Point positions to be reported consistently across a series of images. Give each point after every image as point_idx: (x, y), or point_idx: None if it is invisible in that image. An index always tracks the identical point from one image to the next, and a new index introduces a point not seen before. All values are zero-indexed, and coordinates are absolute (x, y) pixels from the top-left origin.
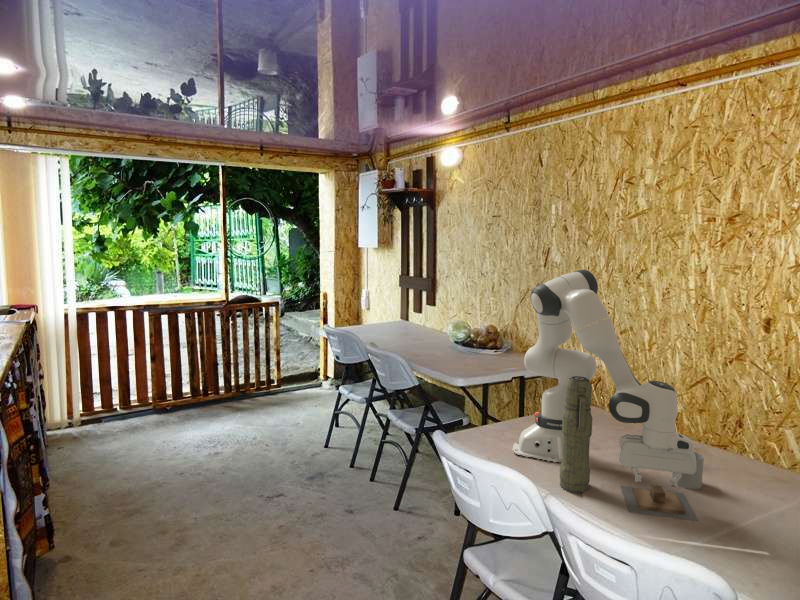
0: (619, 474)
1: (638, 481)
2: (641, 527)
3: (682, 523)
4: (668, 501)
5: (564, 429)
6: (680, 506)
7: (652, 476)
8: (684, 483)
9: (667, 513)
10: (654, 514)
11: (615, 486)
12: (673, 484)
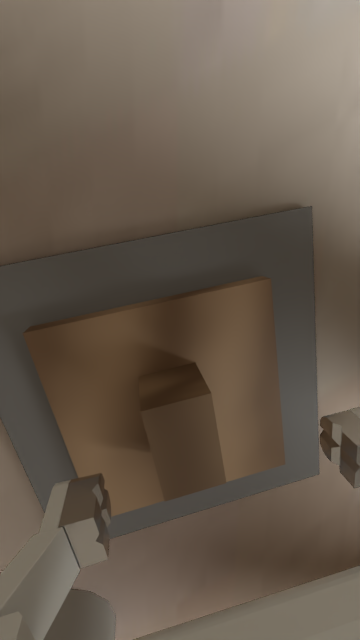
0: (303, 567)
1: (345, 413)
2: (254, 51)
3: (35, 227)
4: (119, 409)
5: None
6: (53, 382)
7: (188, 619)
8: (56, 627)
9: (119, 292)
10: (186, 243)
11: (329, 466)
12: (78, 491)
